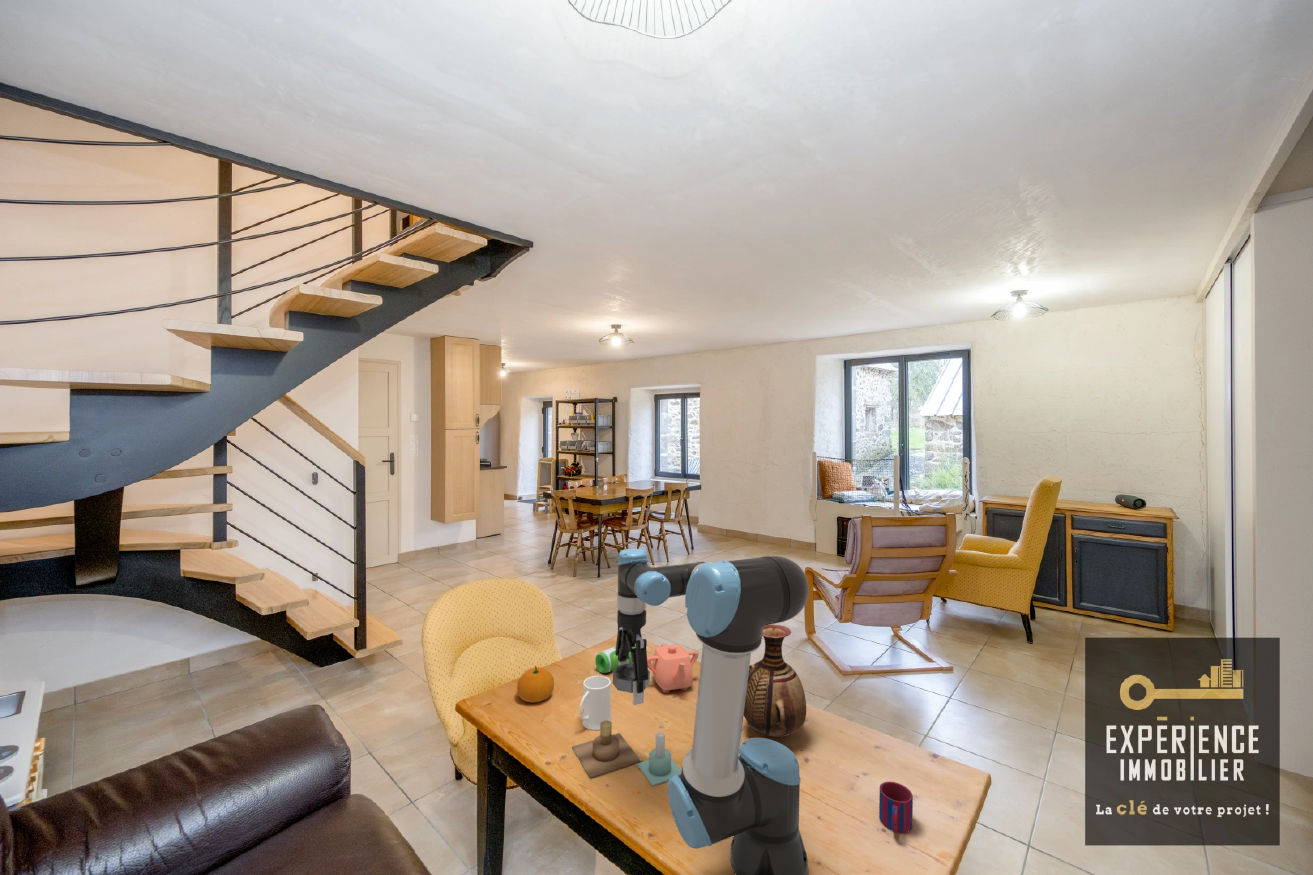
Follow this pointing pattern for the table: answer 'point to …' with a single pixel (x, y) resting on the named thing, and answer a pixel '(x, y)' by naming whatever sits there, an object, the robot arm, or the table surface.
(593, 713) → the mug
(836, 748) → the table surface
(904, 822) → the cup
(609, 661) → the speaker
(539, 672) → the fruit
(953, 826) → the table surface
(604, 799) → the table surface
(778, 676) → the vase
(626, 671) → the clutch ring
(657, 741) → the stand
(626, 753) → the hub
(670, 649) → the teapot
